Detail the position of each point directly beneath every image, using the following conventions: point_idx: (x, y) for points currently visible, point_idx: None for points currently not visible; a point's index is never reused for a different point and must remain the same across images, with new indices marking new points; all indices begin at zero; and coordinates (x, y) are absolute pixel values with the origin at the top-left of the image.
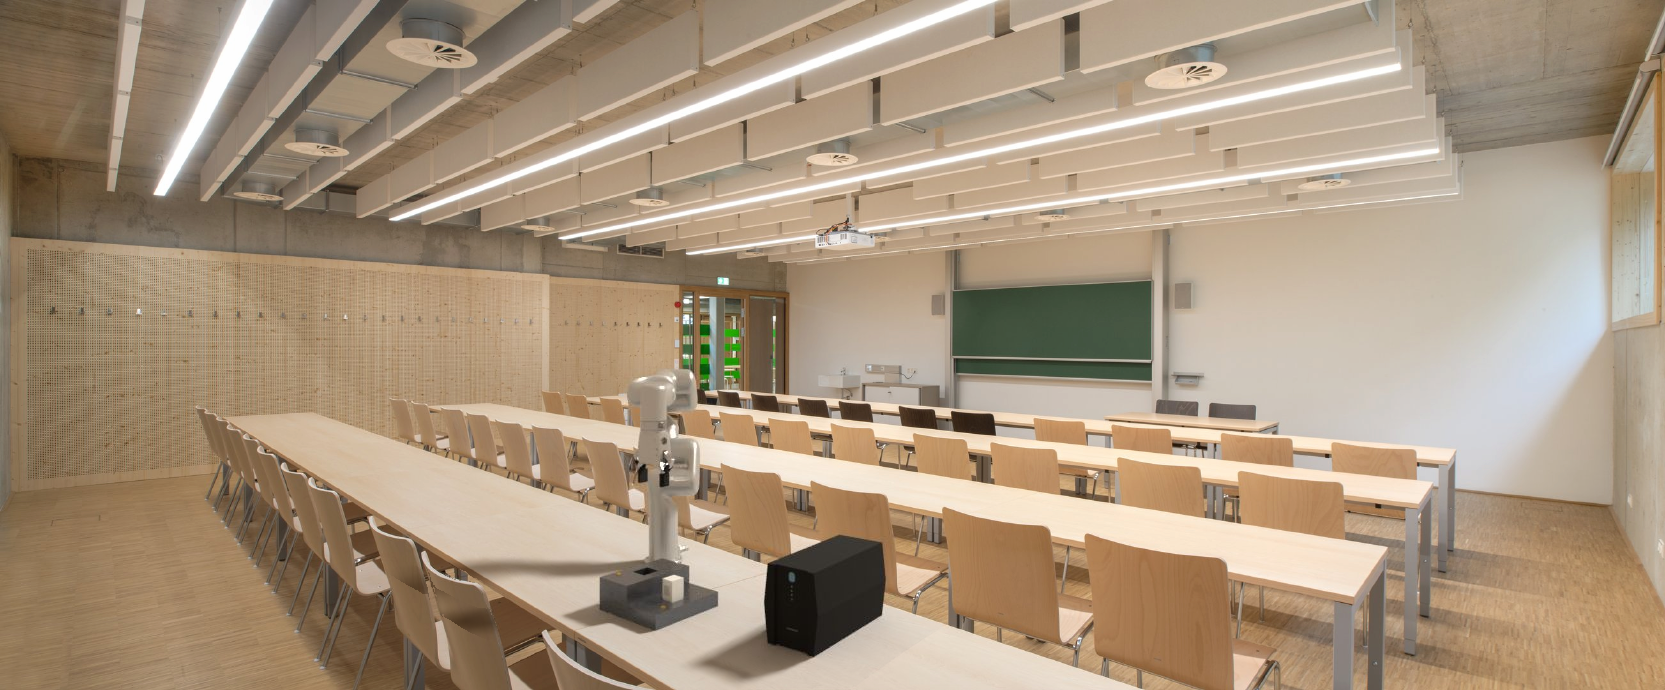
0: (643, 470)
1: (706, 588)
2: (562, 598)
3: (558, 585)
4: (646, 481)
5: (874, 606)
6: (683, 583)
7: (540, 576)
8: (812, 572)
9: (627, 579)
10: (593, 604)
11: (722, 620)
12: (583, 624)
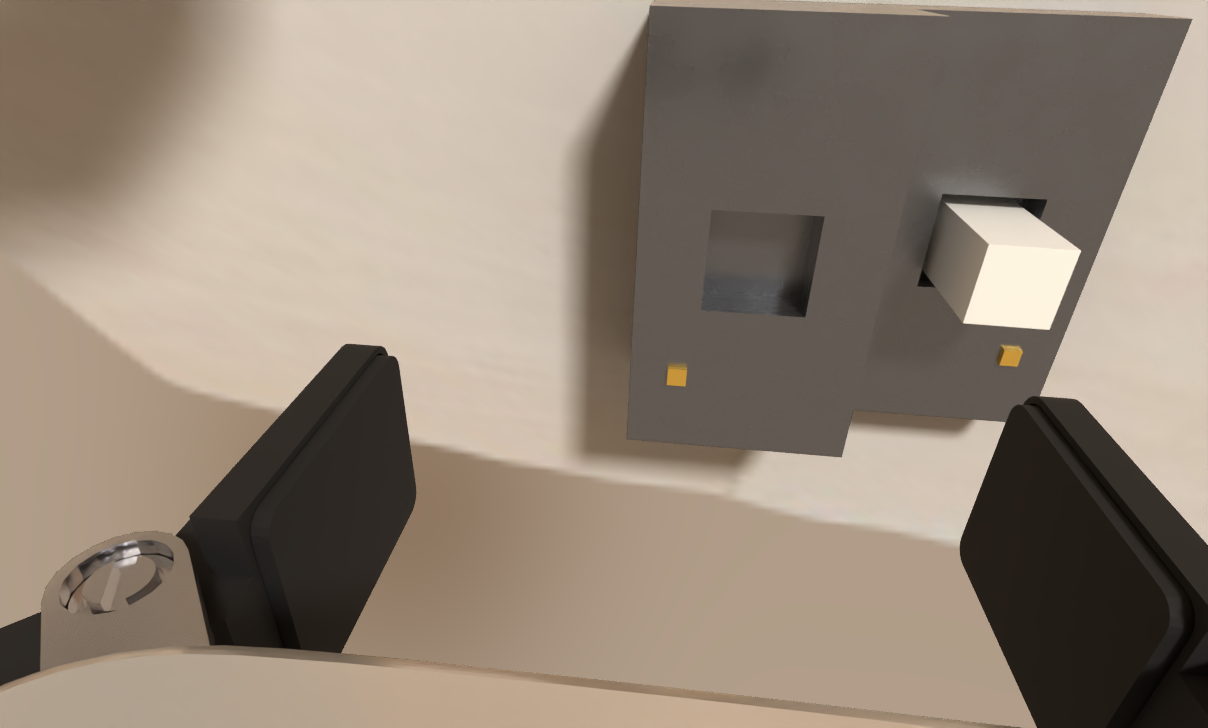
0: (306, 610)
1: (1083, 18)
2: (414, 361)
3: (250, 278)
4: (400, 379)
5: None
6: (1064, 238)
7: (78, 249)
8: None
9: (775, 399)
10: (570, 340)
11: None
12: (709, 472)
